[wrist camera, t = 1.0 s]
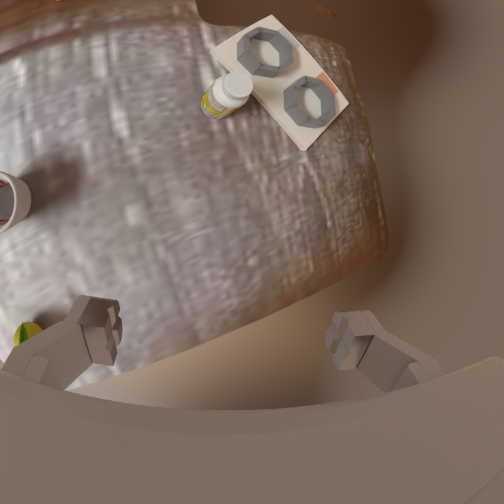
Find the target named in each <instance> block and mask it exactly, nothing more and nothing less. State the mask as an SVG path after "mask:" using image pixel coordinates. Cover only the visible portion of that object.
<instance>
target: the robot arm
mask: <svg viewBox="0 0 504 504" xmlns="http://www.w3.org/2000/svg"><path fill="white" fill-rule="evenodd" d="M119 311H120V307H119V302H118V301H117V300H113V299H106V298H99V297H92V296H85V295H80V296H79V297H78V298H77V300H76V301H75V303H74V305H73V306H72V308H71V310H70V311H69V313H68V315H67V317H66V318H65V320H64V321H59V322H57V323H56V324H54V325H52V326H50V327H49V328H47V329H45V330H43V331H41V332H40V333H38V334H36V335H34V336H33V337H31V338H29V339H27V340H26V341H24V342H22V343H20V344H19V345H17V346H15V347H14V348H13V350H12V351H11V353H10V355H9V357H8V358H7V360H6V362H5V364H4V366H3V368H2V369H1V370H0V504H504V360H502V359H500V358H498V357H490V358H487V359H485V360H483V361H481V362H478V363H476V364H473V365H471V366H469V367H466V368H463V369H461V370H458V371H455V372H453V373H450V374H447V375H445V374H444V373H443V371H442V370H441V368H440V367H439V366H438V364H437V363H436V362H435V360H434V359H433V358H432V357H430V356H429V355H427V354H425V353H423V352H422V351H420V350H418V349H416V348H415V347H413V346H411V345H409V344H407V343H406V342H404V341H402V340H400V339H398V338H397V337H395V336H393V335H392V334H387V333H386V331H385V330H384V329H383V327H382V326H381V325H380V323H379V322H378V321H377V319H376V318H375V317H374V315H373V314H372V313H371V311H369V310H361V311H340V312H339V311H338V312H336V313H335V314H334V315H333V318H332V322H333V325H332V326H331V327H329V328H328V331H327V334H326V345H327V348H328V350H329V351H330V352H332V353H333V354H334V356H333V361H334V362H335V365H336V367H337V369H338V370H348V369H356V370H357V371H358V372H360V373H361V374H362V375H363V376H364V377H366V378H367V379H368V380H369V381H370V382H372V383H373V384H374V385H375V386H376V387H377V388H379V389H380V390H381V391H382V392H383V393H381V394H377V395H372V396H368V397H362V398H357V399H352V400H346V401H340V402H334V403H328V404H320V405H312V406H304V407H293V408H282V409H269V410H268V409H267V410H240V411H214V410H188V409H174V408H161V407H152V406H144V405H136V404H129V403H122V402H116V401H111V400H105V399H99V398H94V397H90V396H85V395H80V394H76V393H72V392H68V391H65V389H66V388H67V387H68V386H69V385H70V384H71V383H72V382H73V381H74V380H75V379H76V378H78V377H79V376H80V375H81V374H82V373H83V372H84V371H85V370H86V369H87V368H88V367H90V366H91V365H92V363H96V364H103V365H110V366H114V362H115V359H116V356H117V349H116V346H118V345H119V344H120V342H121V339H122V319H121V318H120V317H119V316H118V314H119Z"/></svg>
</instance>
